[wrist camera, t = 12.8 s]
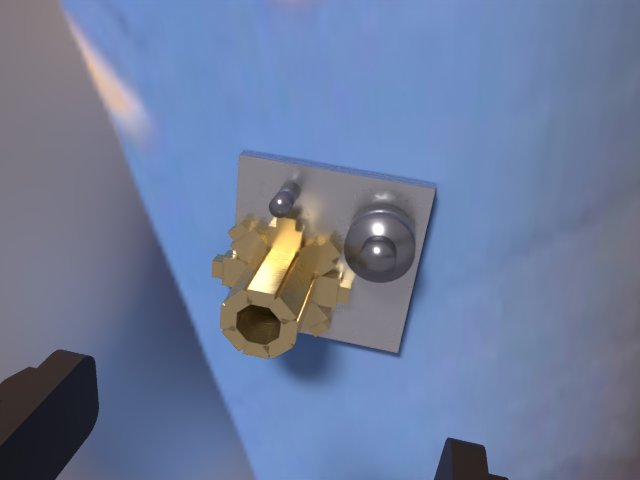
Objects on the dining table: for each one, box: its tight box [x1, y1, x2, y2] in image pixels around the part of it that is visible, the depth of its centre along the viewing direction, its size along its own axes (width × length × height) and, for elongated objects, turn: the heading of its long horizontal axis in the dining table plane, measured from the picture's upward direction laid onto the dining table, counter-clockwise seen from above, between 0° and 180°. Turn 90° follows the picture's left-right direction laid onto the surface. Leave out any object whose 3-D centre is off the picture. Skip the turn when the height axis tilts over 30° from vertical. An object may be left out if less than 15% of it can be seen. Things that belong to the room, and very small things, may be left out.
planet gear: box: [212, 212, 352, 359], centre depth 38 cm, size 11×11×7 cm
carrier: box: [231, 150, 436, 353], centre depth 39 cm, size 14×14×6 cm
